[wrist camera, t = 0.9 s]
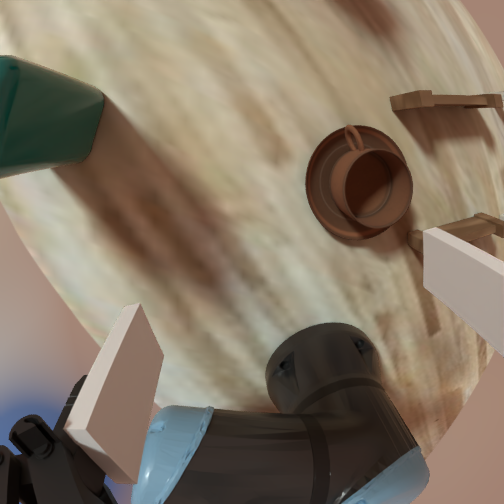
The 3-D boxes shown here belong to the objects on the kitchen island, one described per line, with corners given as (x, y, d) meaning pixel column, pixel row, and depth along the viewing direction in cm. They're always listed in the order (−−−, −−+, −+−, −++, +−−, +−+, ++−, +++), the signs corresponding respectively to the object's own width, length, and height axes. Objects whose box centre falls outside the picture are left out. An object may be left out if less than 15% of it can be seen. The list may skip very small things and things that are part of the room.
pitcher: (111, 90, 26) (-40, 32, 5) (88, 167, 28) (-76, 213, 8) (41, 79, 24) (-107, 50, 4) (22, 150, 27) (-131, 180, 6)
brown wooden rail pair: (481, 223, 34) (509, 235, 29) (408, 244, 34) (435, 262, 29) (470, 96, 29) (501, 94, 23) (389, 97, 29) (419, 90, 23)
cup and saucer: (277, 176, 31) (289, 183, 25) (358, 104, 29) (385, 97, 23) (346, 256, 34) (368, 277, 29) (417, 188, 32) (448, 197, 27)
